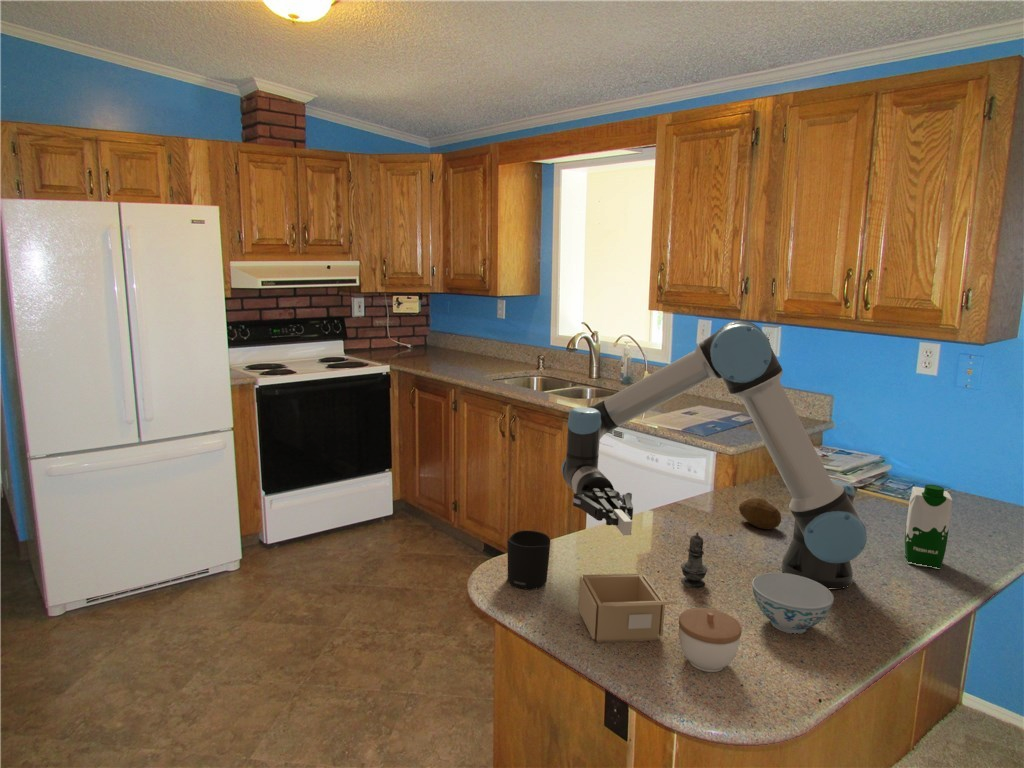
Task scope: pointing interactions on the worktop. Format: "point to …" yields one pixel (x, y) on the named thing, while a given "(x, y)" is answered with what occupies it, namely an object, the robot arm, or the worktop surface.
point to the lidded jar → (709, 638)
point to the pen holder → (528, 559)
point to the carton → (620, 608)
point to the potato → (760, 513)
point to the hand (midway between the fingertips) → (627, 528)
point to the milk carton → (927, 525)
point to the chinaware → (791, 601)
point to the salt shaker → (694, 564)
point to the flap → (638, 603)
